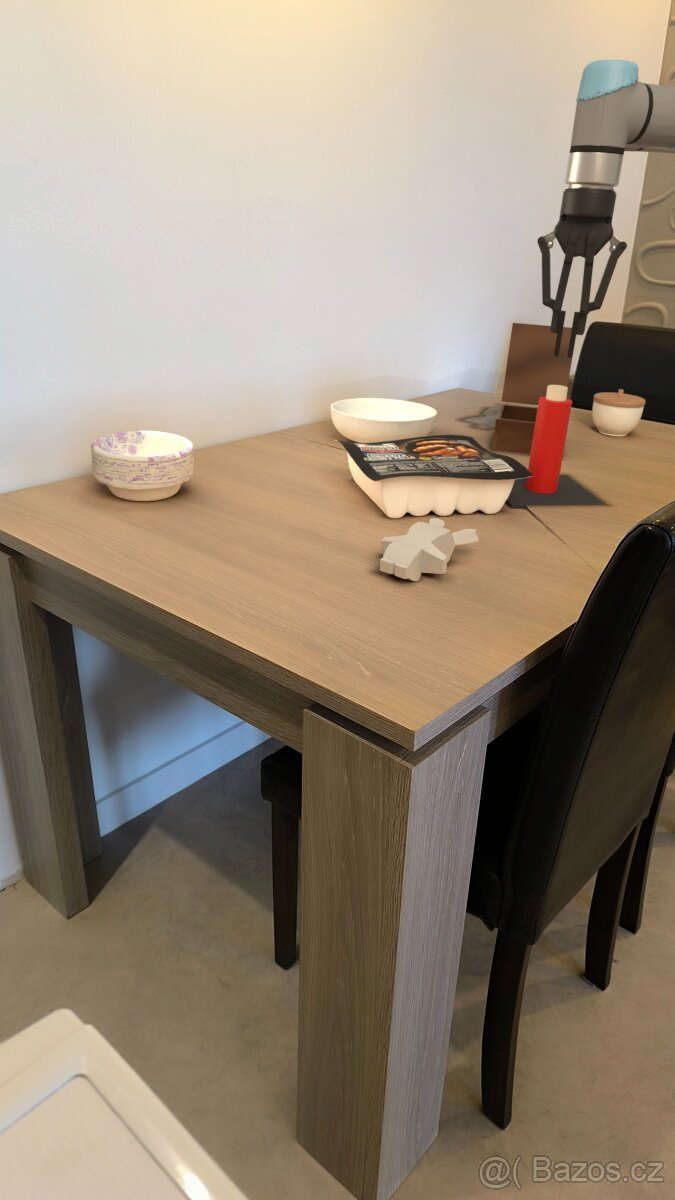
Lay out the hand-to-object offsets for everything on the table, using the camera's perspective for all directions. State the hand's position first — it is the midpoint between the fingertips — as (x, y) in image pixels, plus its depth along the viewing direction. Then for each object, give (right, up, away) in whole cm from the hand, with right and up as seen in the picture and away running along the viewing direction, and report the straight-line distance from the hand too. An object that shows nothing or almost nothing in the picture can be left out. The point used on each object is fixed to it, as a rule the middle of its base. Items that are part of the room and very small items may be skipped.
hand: (563, 355), depth 129 cm
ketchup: (-1, -20, +9) cm, 22 cm away
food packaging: (-21, -22, +4) cm, 31 cm away
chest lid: (+5, +9, +37) cm, 38 cm away
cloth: (+2, +2, +57) cm, 57 cm away
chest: (+2, -8, +36) cm, 37 cm away
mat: (-1, -20, +10) cm, 22 cm away
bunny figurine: (-24, -34, -21) cm, 47 cm away
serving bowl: (-27, -7, +34) cm, 44 cm away
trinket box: (+25, -2, +52) cm, 57 cm away
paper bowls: (-65, -22, -1) cm, 69 cm away
